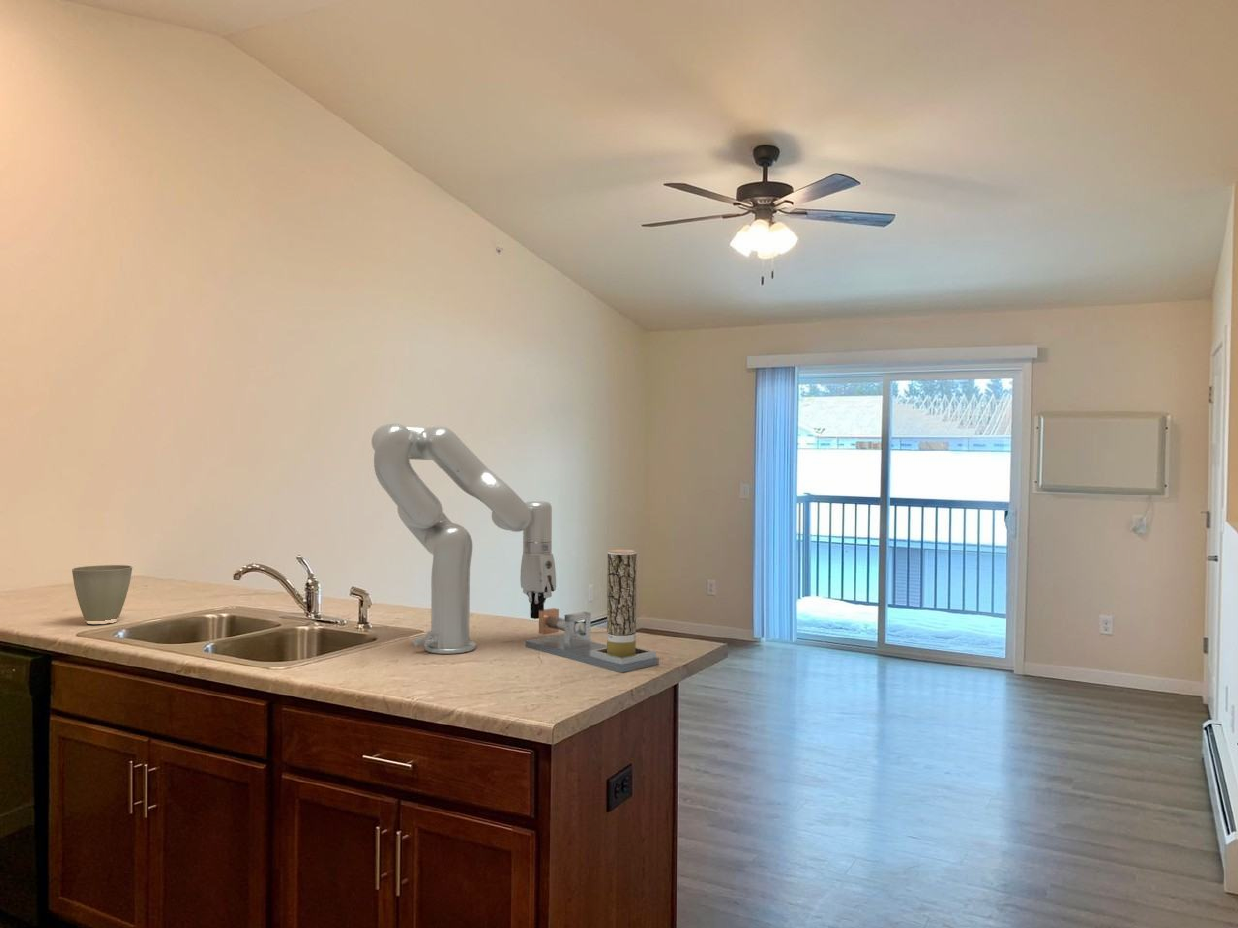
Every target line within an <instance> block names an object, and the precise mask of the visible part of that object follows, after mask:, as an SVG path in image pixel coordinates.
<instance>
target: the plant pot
mask: <svg viewBox="0 0 1238 928" xmlns="http://www.w3.org/2000/svg"><path fill="white" fill-rule="evenodd" d="M132 571H133V566H132V565H125V564H103V565H99V564H98V565H89V566H88V565H87V566H85V565H84V566H79V567H77V566H76V567H73V568H72V569H71V573H72V579H73V586H74V590H75V594H76V599H77V602H78V606H79V608H80V611H81V614H82V616H83V618H84V621H85V620H86V621H105V620H111V619H117V618H118V619H119V617H120V615H121V612H122V610H123V607H124V605H125V602H126V598H127V594H128V591H129V587H130V582H131V579H132ZM86 621H85V622H86Z"/></svg>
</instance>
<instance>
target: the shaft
mask: <svg viewBox="0 0 1238 928" xmlns="http://www.w3.org/2000/svg"><path fill="white" fill-rule="evenodd" d="M564 620H565V618H563V617H560V609H559V608H556V607H554V608H553V607H552V608H546V609H545V608H544V610H539V619H538V634H539V635H542V636H543V635H550V634H558V633H559V632H560V631H563V632H564ZM585 631H586V625H585V624H584V623H581V621H574V635H577V634H579V635H583V634H584V633H585Z"/></svg>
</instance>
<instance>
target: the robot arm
mask: <svg viewBox="0 0 1238 928" xmlns="http://www.w3.org/2000/svg"><path fill="white" fill-rule="evenodd" d="M371 446H372V448H373V450H374V453H373V455H374V456H373V467H374V473H375V476H376V478H377V481H378V482H379V484H380V485H381V487H382V488H383V490H384V491H385V492H386V493H387V495H388V496H389V497H390V498H391V500H392V502H394V504H395V505H396V506H397V508H396V509H397V514H398V516H399V518H400V520H401V522H402V523H403V524H404V525H405V526H406V528H407V529H408V530H409V531H410V533H411V534H412V535H413V536H414V538H416V540H417V541H418V542H419V543H420V544H421V545H422V546H423V547H424V549H425V550H426V551H427V552H428V553H430V554H431V555H432V556H433V557H432V566H431V577H430V579H431V581H430V583H431V585H430V586H431V588H430V589H431V593H430V594H431V598H430V599H431V604H430V605H431V607H430V609H431V613H430V614H431V615H430V616H431V618H430V619H431V621H430V623H431V624H430V629H431V630H429V631H427V633H426V634H425V635H424V636H417V637H413V639H412V640H413V642H412V643H413V645H414V646H416V647H417V646H422V645H423V646H424V650H425V651H426V652H427V653H431V654H441V655H445V654H447V655H448V654H449V655H450V654H452V655H453V654H461V653H463V654H464V653H466V652H468V653H469V652H471V651H473V650H475V649H476V648H477V646H476V642H475V641H473V640H470V618H471V617H470V614H471V613H470V611H471V610H470V609H471V608H470V604H471V602H470V601H471V598H470V597H471V593H470V592H471V590H470V589H471V586H470V585H471V565H472V564H471V563H472V556H473V541H472V537H471V534H470V532H469V531H468V530H467V529H466V528H465V527H464V526H463V525H460V524H458V523H456V522H452V521H451V520H450V518H448V516H447V515H446V513H444V511H443V510H444V509H443V505H442V502H441V501H440V500H439V498H438V496H436V494H434V492H433V491H432V490H431V489H430V488H429V487H428V486H427V484H426V483H425V482H424V481H423V480H422V479H421V477H420V475H418V474H417V472H416V471H415V469H414V468H413V466H412V464H411V460H416V461H418V460H419V461H420V460H421V461H422V460H423V461H434V463H435V464H436V465H437V466H438V468H440V469H441V470H442V471H443V472H444V473H445V474H446V475H447V476H448V477H449V478H450V479H451V480H452V482H454V483H455V485H457V487H458V488H460V489H461V490H462V491H464V492H465V493H466V494H468V495H469V496H471V497H473V498H475V499H476V500H478V501H480V502H481V503H482V504H483V505H485V506H487V508H488V509H490V510H491V520H492V523H494V525H495V526H497V528H499V529H502V530H505V531H511V532H515V533H517V532H519V533H520V532H522V550H523V551H522V556H521V565H520V577H519V578H520V587H521V589H522V592H523V594H525V595H526V596H527V598H528V601H529V603H530V619H533V620H537V619H538V620H539V610H545V607H544V606H545V603H546V599H548V598H552V596H553V594H552V593H553V592H555V591H556V590H557V573H556V571H557V570H556V562H555V557H554V554H553V550H552V548H553V547H552V545H553V542H552V541H553V538H552V537H553V535H552V534H553V531H552V529H553V528H552V527H553V521H552V520H553V519H552V517H553V509H552V508H553V507H552V505H551V503H550V502H548V501H540V500H539V501H537V500H536V501H527V502H525V501H524V500H523V499H522V498H521V497H520V496H519V495H518V494H517V493H516V492H515V491H514V490H513V488H512V487H510V486H509V485H508V484H507V483H506V482H505V481H504V480H502V479H501V478H500V477H499V476H498V475H497V474H495V473H494V471H492V470H491V469H490V468H489V467H488V466H486V465H485V464H484V462H482V461H481V459H479V458H478V456H477V455H476V454H475V453H474V452H473V451H472V450H471V449H470V447H468V446H467V445H466V444H465V442H463V441H462V440H461V439H460V438H459V436H458V435H457V434H456V433H455V432H454V431H453V430H451V429H450V428H448V427H445V426H434V427H423V426H422V427H416V426H405V425H403V424H401V423H388V424H385V425H382V426H379V427H378V428H376V430H375V431H374V432H373V434H372V436H371Z"/></svg>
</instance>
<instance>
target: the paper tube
mask: <svg viewBox="0 0 1238 928" xmlns="http://www.w3.org/2000/svg"><path fill="white" fill-rule="evenodd" d="M637 555H638V553H637V550H634V549H612V550H611V549H609V550H607V571H606V572H607V575H606V576H607V580H606V582H607V585H606V587H607V588H606V590H607V591H606V592H607V594H606V595H607V596H606V603H607V604H606V613H607V614H606V645H607V654H611V655H614V656H618V657H626V656H631V655H636V647H637V644H636V641H637Z"/></svg>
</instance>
